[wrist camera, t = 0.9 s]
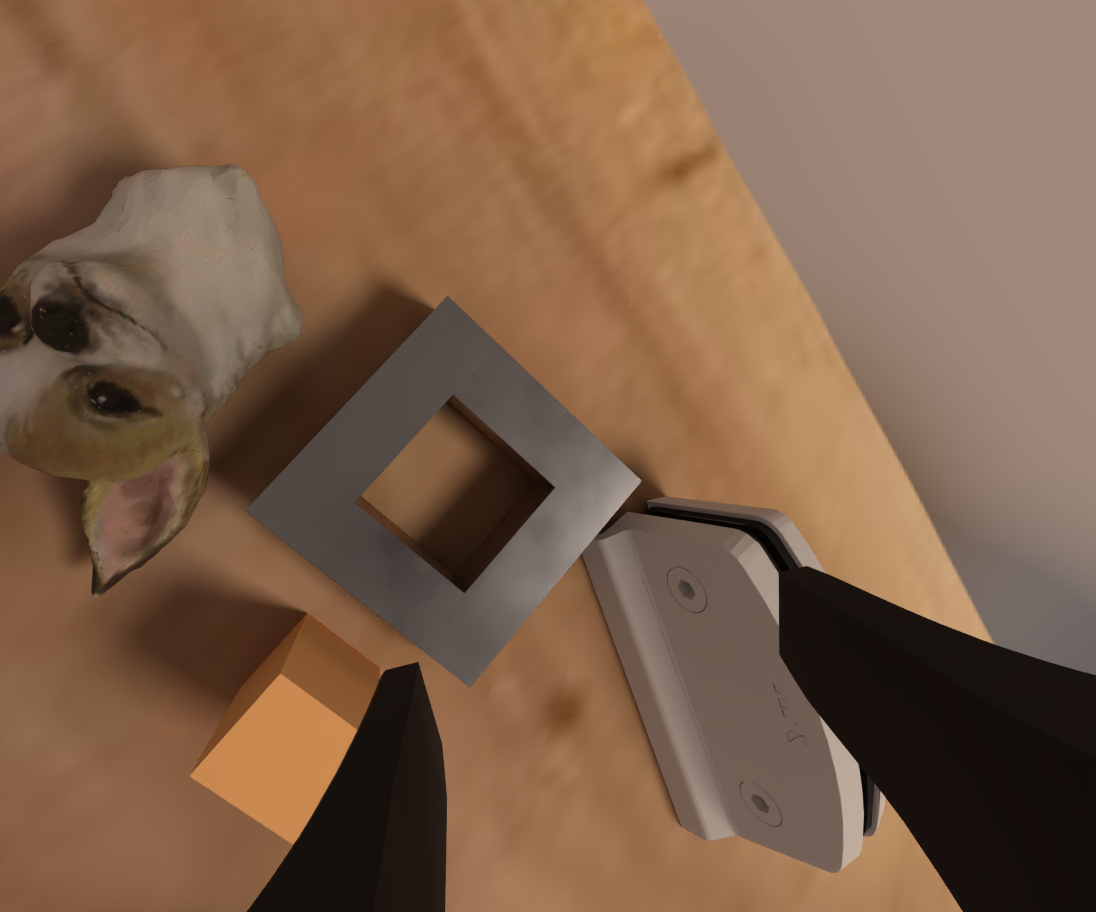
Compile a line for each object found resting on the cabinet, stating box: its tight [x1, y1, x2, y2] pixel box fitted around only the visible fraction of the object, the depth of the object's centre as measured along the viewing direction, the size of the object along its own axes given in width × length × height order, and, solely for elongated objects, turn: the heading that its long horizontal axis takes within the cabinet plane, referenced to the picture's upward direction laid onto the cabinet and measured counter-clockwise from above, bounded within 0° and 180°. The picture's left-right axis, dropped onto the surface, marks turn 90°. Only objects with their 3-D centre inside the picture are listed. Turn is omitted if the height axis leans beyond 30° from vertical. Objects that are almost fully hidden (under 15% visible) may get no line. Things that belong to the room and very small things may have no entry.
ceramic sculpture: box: [0, 164, 302, 598], centre depth 21 cm, size 11×9×15 cm
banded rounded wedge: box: [582, 497, 886, 873], centre depth 28 cm, size 17×5×10 cm, turn 20°
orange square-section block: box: [190, 613, 380, 844], centre depth 23 cm, size 4×4×7 cm
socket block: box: [245, 296, 641, 687], centre depth 26 cm, size 11×11×4 cm
